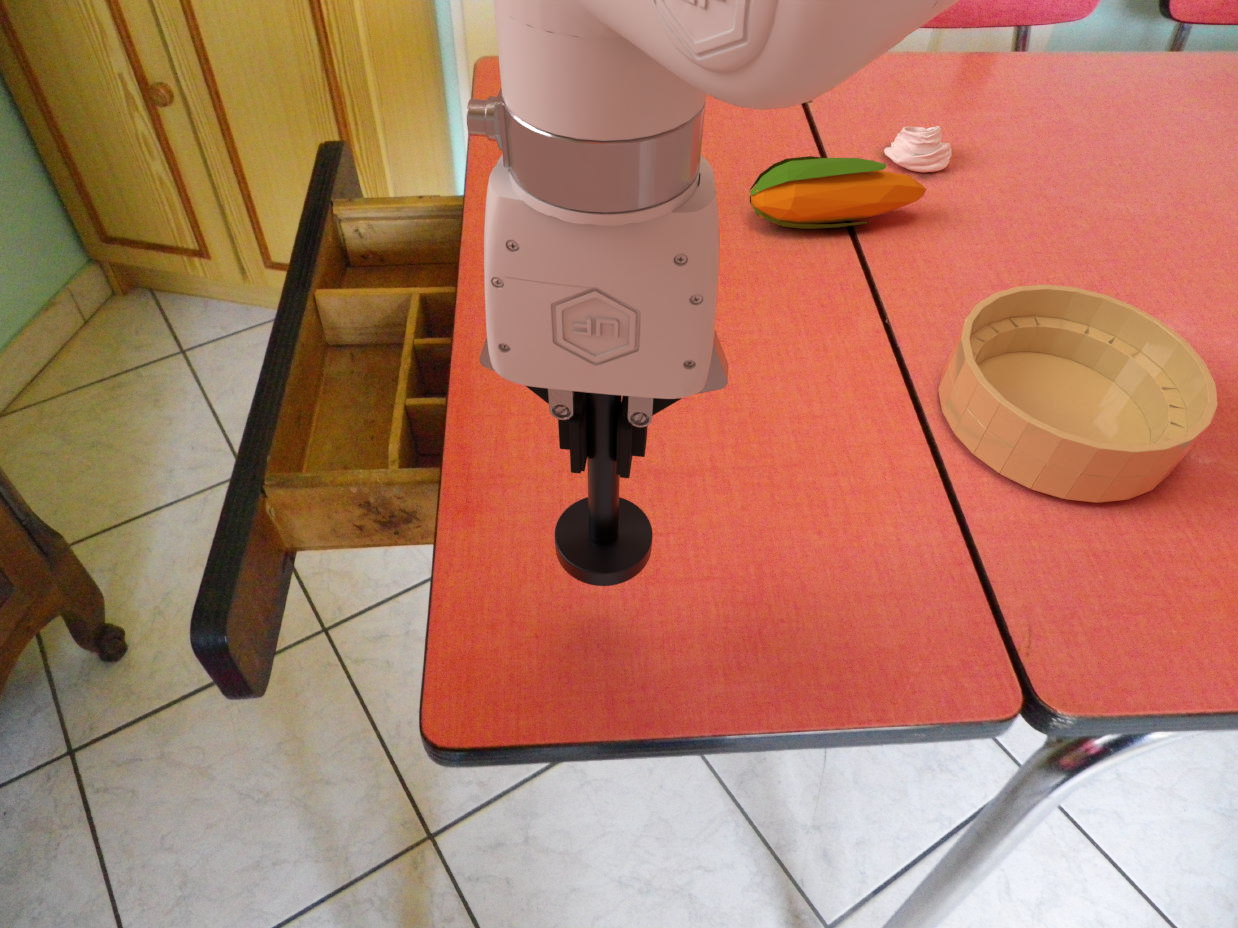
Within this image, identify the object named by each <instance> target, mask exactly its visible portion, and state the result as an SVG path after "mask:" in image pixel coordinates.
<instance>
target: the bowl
mask: <svg viewBox="0 0 1238 928" xmlns="http://www.w3.org/2000/svg"><path fill="white" fill-rule="evenodd" d="M938 395H939V402H940V407H941V413H942V414H943V416H944V419H946V421H947V423H948V425H949V427H950V429H951V431H952V433H953V434H954V435H955V436H956V438H957V439H958V440H959V442H961V443H962V444H963V445H964V447H966V448H967V450H969V452H970V453H971V454H972V455H973V456H975V457H976V458H977V459H979V460H980V461H981V462H983V463H984V464H986V465H987V466H988V467H990V469H992V470H993V471H995V472H996V473H998V474H1000V475H1001V476H1002V477H1005V478H1007V479H1009V480H1011V481H1013V482H1015V483H1016V484H1018V485H1019V484H1020V485H1021V486H1023V487H1026V488H1027V489H1029V490H1032V491H1035V492H1039V493H1042V494H1046V495H1049V496H1052V497H1056V498H1059V499H1062V500H1066V501H1067V500H1068V501H1076V502H1077V501H1078V502H1086V503H1087V502H1088V503H1096V504H1097V503H1109V502H1117V501H1127V500H1130V499H1133V498H1136V497H1138V496H1141V495H1144V494H1146V493H1148V492H1151V491H1153V490H1154V489H1155V488H1156V487H1157V486H1158V485H1160V484H1161V483H1162V482H1163V481H1164V480H1166V478H1167V477H1169V476H1170V474H1171V473H1172V472H1173V471H1174V469H1175V468H1176V467H1177V466H1178V465H1179V463H1180V462H1181V461H1182V460H1183V458H1184V457H1185V456H1186V455H1187V453H1188V452H1189V451H1190V450H1191V449H1192V448H1193V446H1194V445H1195V444H1196V442H1197V441H1199V439H1200V438H1201V436H1202V435H1203V434H1205V432H1206V430H1207V429H1208V428H1209V427H1210V425H1211V423H1212V421H1213V418H1214V416H1215V413H1216V411H1217V408H1218V405H1219V403H1218V393H1217V384H1216V382H1215V379H1214V377H1213V375H1212V373H1211V371H1210V369H1209V366H1208V365H1207V362H1206V361H1205V360H1204V359H1203V358H1202V357H1201V355H1200V354H1199V353H1198V352H1197V350H1196V349H1195V348H1194V347H1193V346H1192V345H1191V343H1189V341H1187V340H1186V339H1185V338H1184V337H1183V336H1182V335H1180V334H1179V333H1178V332H1176V331H1175V330H1174V329H1173V328H1171V327H1170V326H1169V325H1168V324H1166V323H1165V322H1163V321H1162V320H1160V319H1159V318H1157V317H1155V316H1153V315H1151V314H1150V313H1148V312H1147V311H1145V310H1142V308H1139V307H1138V306H1135V305H1133V304H1131V303H1129V302H1126V301H1122V300H1121V299H1117V298H1115V297H1113V296H1110V295H1108V294H1104V293H1100V292H1097V291H1093V290H1089V289H1084V288H1080V287H1075V286H1067V285H1057V284H1033V285H1032V284H1031V285H1018V286H1014V287H1011V288H1007V289H1004V290H1000V291H996V292H994V293H992V294H990V295H989V296H987V297H986V298H984V299H982V300H980V301H979V302H978V303H976V304H975V305H974V307H973V308H972V309H971V311H970V312H969V314H968V315H967V316H966V318H965V319H964V321H963V324H962V326H961V328H960V330H959V333H958V335H957V336H956V340H955V342H954V344H953V346H952V348H951V351H950V353H949V356H948V358H947V360H946V362H945V365H944V366H943V370H942V372H941V377H940V380H939V384H938Z"/></svg>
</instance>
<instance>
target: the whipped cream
mask: <svg viewBox="0 0 1238 928" xmlns="http://www.w3.org/2000/svg"><path fill="white" fill-rule="evenodd" d="M896 134H897V135H896V137H895V138H894V141H892V142H891V143H890V146H887V147H885V148H884V150H883V152H884V156H886V157H888V158H889V160H891V161H892V162H893V163H894V164H896V165H897V166H900V167H901V168H904V169H907V170H909V171H911V172H916V173H934V172H938V171H942V170H945V168H947V166H948V165H949V163H950V159H951V157H952V153H953V149H952V146H951V144H950V142H942V138H943V134H942V128H941V126H940V125H936V126H931V127H927V128H926V127H923V126H903V127H902V129H901V130H900V131H899V132H898V133H896Z"/></svg>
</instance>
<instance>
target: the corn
mask: <svg viewBox="0 0 1238 928" xmlns="http://www.w3.org/2000/svg"><path fill="white" fill-rule="evenodd" d="M886 168H887V164H886V163H883V162H879V161H876V160H870V159H864V158H859V157H821V156H814V155H813V156H812V155H810V156H809V155H808V156H800V157H791V158H789V157H788V158H785V159H782V160H779V161H778V162H774V163H773V164H772V165H770V166H769V167H767V168H766V169H765V170H763V171H762V172H761V173H759V175H758V176H757V177H756V179H755V181H754V182H753V184H752V186H751V187H750V189H749V194H750V195H749V203H750V205H751V208H752V209H753V211H754V212H755V214H756V215H757V216H758V217H759V218H762V219H763V220H765V221H767V222H769V223H771V224H775V225H778V226H780V227H785V228H793V229H804V230H805V229H806V230H813V229H831V228H844V227H851V226H858V225H867V224H868V222H867V221H857V222H850V221H856V220H861V219H866V218H870V217H871V218H872V217H875V216H879V215H880V216H881V215H884V214H886V213H889V212H893V211H894V210H898V209H900V208H902V207H905V206H908V205H910V204H913V203H915V202H917V201H919V200H920V199H921V198H923V197H924V195H925V193H926V191H927V188H926V187H925V186H924V185H923V184H922V183H920V182H919V181H917V180H916V179H915V178H913V177H912V176H911V175H909V174H903V173H898V172H892V171H888V170H887V171H886V170H885V169H886ZM841 222H842V223H841ZM843 222H845V223H843ZM828 223H829V224H828Z"/></svg>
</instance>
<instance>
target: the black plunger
mask: <svg viewBox="0 0 1238 928" xmlns="http://www.w3.org/2000/svg"><path fill="white" fill-rule="evenodd" d="M621 402H622V396H621V395H610V394H599V393H588V392H586V411H587V461H586V465H587V466H586V467H587V497H583V498H581V499H579V500H577V501H575V502H573V503H572V504H570V505H568V507H566V509H565V510H564V511H562V513H561V515H560V516H559V517H558V519H557V522H556V523H555V526H554V527H555V528H554V549H555V550H554V551H555V555H556V558H557V560H558V563H559V565H560V566H561V567H562V568H563V570H564V571H565V572H566V573H567V574H568V575H569V576H571V577H572V578H574V579H575V580H576V581H579V582H581V583H583V584H586V585H590V586H596V587H612V586H617V585H620V584H623V583H626V582H628V581H630V580H632V579H633V578H635V577H636V576H638V575H639V574H640V573H641V572H642V571H643V570H644V569H645V568H646V566H647V565H648V563H649V561H650V558H651V556H652V555H651V554H652V550H653V537H654V535H653V527H652V524H651V521H650V519H649V517H648V516H647V514H646V513H645V512H644V511H643V510H642V508H641V507H640V506H638V505H637V504H636V503H634V502H632V501H630V500H628V499H626V498H623V497H622V496H621V497H620V481H621V479H620V475H616V462H617V427H618V420H619V414H620V410H621Z"/></svg>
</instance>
